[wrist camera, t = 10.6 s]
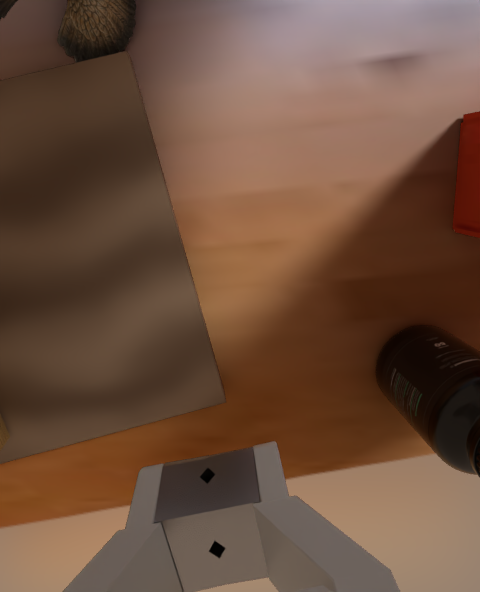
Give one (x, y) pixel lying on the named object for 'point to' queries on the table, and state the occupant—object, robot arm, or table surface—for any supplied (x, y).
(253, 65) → the table surface
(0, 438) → the brass link
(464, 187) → the file binder
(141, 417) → the walnut base plate
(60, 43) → the eagle figurine
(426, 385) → the supplement bottle
